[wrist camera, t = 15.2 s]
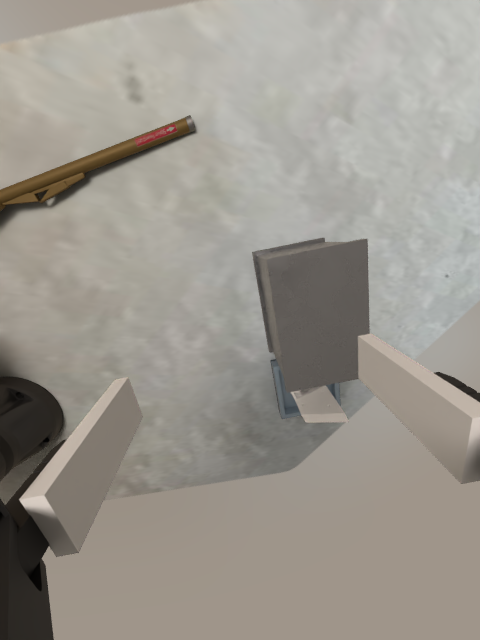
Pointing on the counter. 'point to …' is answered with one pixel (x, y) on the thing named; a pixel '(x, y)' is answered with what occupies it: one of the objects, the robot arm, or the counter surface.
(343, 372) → the box
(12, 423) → the robot arm
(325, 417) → the white wedge bracket
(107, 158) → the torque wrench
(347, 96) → the counter surface
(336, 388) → the tray
